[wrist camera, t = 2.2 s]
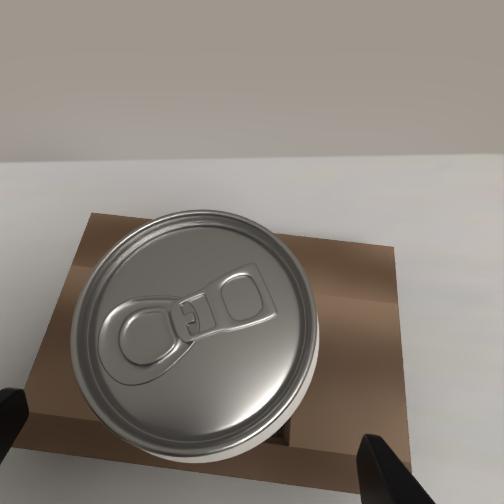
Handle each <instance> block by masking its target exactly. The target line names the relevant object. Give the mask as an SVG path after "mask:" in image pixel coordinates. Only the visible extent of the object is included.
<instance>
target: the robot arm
mask: <svg viewBox="0 0 504 504" xmlns="http://www.w3.org/2000/svg"><path fill="white" fill-rule="evenodd" d="M28 416H29V407H28V403H27V399H26V394H25V391H24V390H23V389H18V388H4V389H2V390H0V464H1V463H2V461H3V459H4V458H5V456H6V455H7V453H8V451H9V450H10V448H11V446H12V445H13V443H14V441H15V440H16V438H17V436H18V435H19V433H20V431H21V430H22V428H23V426H24V425H25V423H26V421H27V419H28ZM356 466H357V473H358V480H359V488H360V495H361V502H362V504H436V503H435V502H434V501H433V500H432V499H431V497H430V496H429V495H428V494H427V492H426V491H425V490H424V489H423V487H422V486H421V485H420V484H419V482H418V481H417V480H416V479H415V477H414V476H413V475H412V474H411V472H410V471H409V470H408V469H407V467H406V466H405V465H404V464H403V463H402V461H401V460H400V459H399V458H398V456H397V455H396V454H395V453H394V451H393V450H392V449H391V448H390V446H389V445H388V444H387V443H386V441H385V440H384V439H383V438H382V437H381V436H379V435H374V434H364V435H363V437H362V440H361V443H360V446H359V449H358V452H357V456H356Z"/></svg>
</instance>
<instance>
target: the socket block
mask: <svg viewBox="0 0 504 504" xmlns="http://www.w3.org/2000/svg"><path fill="white" fill-rule="evenodd" d="M151 220H152V219H143V218H134V217H126V216H117V215H108V214H99V213H91V216H90V218H89V221H88V223H87V226H86V229H85V231H84V234H83V237H82V239H81V242H80V244H79V247H78V250H77V252H76V255H75V257H74V260H73V263H72V265H71V268H70V271H69V273H68V276H67V278H66V281H65V284H64V286H63V289H62V291H61V294H60V297H59V299H58V302H57V304H56V307H55V310H54V312H53V315H52V318H51V320H50V323H49V325H48V328H47V331H46V333H45V336H44V338H43V341H42V344H41V346H40V349H39V352H38V354H37V357H36V359H35V362H34V365H33V367H32V370H31V372H30V375H29V378H28V380H27V383H26V385H25V388H24V391H25V394H26V399H27V403H28V407H29V416H28V419H27V421H26V423H25V425H24V426H23V428H22V430H21V431H20V433H19V435H18V436H17V438H16V440H15V441H14V443H13V445H12V446H11V447H15V448H23V449H30V450H37V451H45V452H52V453H60V454H67V455H74V456H82V457H89V458H97V459H104V460H111V461H119V462H126V463H133V464H141V465H148V466H156V467H163V468H170V469H178V470H185V471H192V472H200V473H207V474H215V475H222V476H229V477H237V478H244V479H251V480H259V481H266V482H274V483H281V484H288V485H296V486H303V487H311V488H318V489H325V490H333V491H340V492H347V493H355V494H360V488H359V480H358V473H357V466H356V456H357V452H358V449H359V446H360V443H361V440H362V437H363V435H364V434H374V435H379V436H381V437H382V438H383V439H384V440H385V441H386V443H387V444H388V445H389V446H390V448H391V449H392V450H393V451H394V453H395V454H396V455H397V456H398V458H399V459H400V460H401V461H402V463H403V464H404V465H405V466H406V467H407V469H408V470H409V471H410V472H411V474H412V471H411V458H410V445H409V433H408V420H407V408H406V395H405V383H404V370H403V357H402V345H401V332H400V320H399V307H398V295H397V282H396V269H395V257H394V247H390V246H381V245H372V244H363V243H354V242H346V241H337V240H328V239H319V238H310V237H302V236H293V235H284V234H275V233H273V234H275V235H276V236H277V237H278V238H279V239H281V240H282V241H283V242H284V243H285V244H286V245H287V246H288V248H289V249H290V250H291V251H292V252H293V254H294V255H295V256H296V258H297V259H298V261H299V262H300V264H301V265H302V267H303V269H304V271H305V273H306V275H307V277H308V280H309V282H310V285H311V288H312V291H313V295H314V299H315V304H316V311H317V316H318V323H319V350H318V357H317V362H316V367H315V370H314V374H313V377H312V380H311V382H310V385H309V387H308V389H307V391H306V393H305V395H304V397H303V399H302V401H301V402H300V404H299V406H298V407H297V408H296V410H295V411H294V413H293V414H292V415H291V417H290V418H289V419H288V420H287V421H286V422H285V423H284V424H283V429H282V436H275V435H271V436H270V437H269V438H268V439H266V440H265V441H263V442H262V443H260V444H259V445H257V446H256V447H254V448H252V449H250V450H248V451H246V452H244V453H242V454H239V455H237V456H234V457H231V458H227V459H224V460H219V461H214V462H207V463H183V462H176V461H171V460H167V459H163V458H160V457H157V456H155V455H152V454H150V453H148V452H145V451H144V450H142V449H140V448H137V447H135V446H133V445H131V444H129V443H128V442H126V441H124V440H123V439H121V438H120V437H118V436H117V435H115V434H114V433H113V432H112V431H110V430H109V429H108V428H107V427H106V426H105V425H104V424H103V423H102V422H101V421H100V420H99V419H98V418H97V416H96V415H95V414H94V413H93V411H92V410H91V408H90V407H89V405H88V404H87V402H86V400H85V399H84V397H83V395H82V393H81V390H80V388H79V386H78V383H77V380H76V377H75V373H74V370H73V365H72V359H71V346H70V338H71V326H72V319H73V315H74V310H75V307H76V304H77V301H78V298H79V295H80V293H81V290H82V288H83V286H84V284H85V282H86V280H87V278H88V277H89V275H90V273H91V272H92V270H93V269H94V267H95V266H96V264H97V263H98V262H99V260H100V259H101V258H102V257H103V256H104V255H105V253H106V252H107V251H108V250H109V249H110V248H111V247H112V246H113V245H114V244H116V243H117V242H118V241H119V240H120V239H122V238H123V237H124V236H125V235H127V234H128V233H130V232H131V231H133V230H134V229H136V228H138V227H139V226H141V225H143V224H145V223H147V222H149V221H151Z"/></svg>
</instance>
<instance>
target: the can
mask: <svg viewBox="0 0 504 504" xmlns="http://www.w3.org/2000/svg"><path fill="white" fill-rule="evenodd" d="M70 346H71V359H72V365H73V370H74V373H75V377H76V380H77V383H78V386H79V388H80V390H81V393H82V395H83V397H84V399H85V400H86V402H87V404H88V405H89V407H90V408H91V410H92V411H93V413H94V414H95V415H96V416H97V418H98V419H99V420H100V421H101V422H102V423H103V424H104V425H105V426H106V427H107V428H108V429H109V430H110V431H112V432H113V433H114V434H115V435H117V436H118V437H120V438H121V439H123V440H124V441H126V442H128V443H129V444H131V445H133V446H135V447H137V448H140V449H142V450H144V451H145V452H148V453H150V454H152V455H155V456H157V457H160V458H163V459H167V460H171V461H176V462H183V463H207V462H214V461H219V460H224V459H227V458H231V457H234V456H237V455H239V454H242V453H244V452H246V451H248V450H250V449H252V448H254V447H256V446H257V445H259V444H260V443H262V442H263V441H265V440H266V439H268V438H269V437H270V436H271V435H273V434H274V433H275V432H276V431H277V430H278V429H279V428H280V427H281V426H282V425H283V424H284V423H285V422H286V421H287V420H288V419H289V418H290V417H291V415H292V414H293V413H294V411H295V410H296V408H297V407H298V406H299V404H300V402H301V401H302V399H303V397H304V395H305V393H306V391H307V389H308V387H309V385H310V382H311V380H312V377H313V374H314V370H315V367H316V362H317V357H318V350H319V323H318V316H317V311H316V304H315V299H314V295H313V291H312V288H311V285H310V282H309V280H308V277H307V275H306V273H305V271H304V269H303V267H302V265H301V264H300V262H299V261H298V259H297V258H296V256H295V255H294V254H293V252H292V251H291V250H290V249H289V248H288V246H287V245H286V244H285V243H284V242H283V241H282V240H281V239H279V238H278V237H277V236H276V235H275V234H273V233H272V232H271V231H269V230H268V229H266V228H265V227H263V226H262V225H260V224H258V223H256V222H254V221H252V220H250V219H248V218H245V217H242V216H239V215H236V214H233V213H229V212H224V211H217V210H188V211H181V212H176V213H172V214H168V215H165V216H162V217H159V218H156V219H154V220H151V221H149V222H147V223H145V224H143V225H141V226H139V227H138V228H136V229H134V230H133V231H131V232H130V233H128V234H127V235H125V236H124V237H123V238H122V239H120V240H119V241H118V242H117V243H116V244H114V245H113V246H112V247H111V248H110V249H109V250H108V251H107V252H106V253H105V255H104V256H103V257H102V258H101V259H100V260H99V262H98V263H97V264H96V266H95V267H94V269H93V270H92V272H91V273H90V275H89V277H88V278H87V280H86V282H85V284H84V286H83V288H82V290H81V293H80V295H79V298H78V301H77V304H76V307H75V310H74V315H73V319H72V326H71V338H70Z"/></svg>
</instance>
